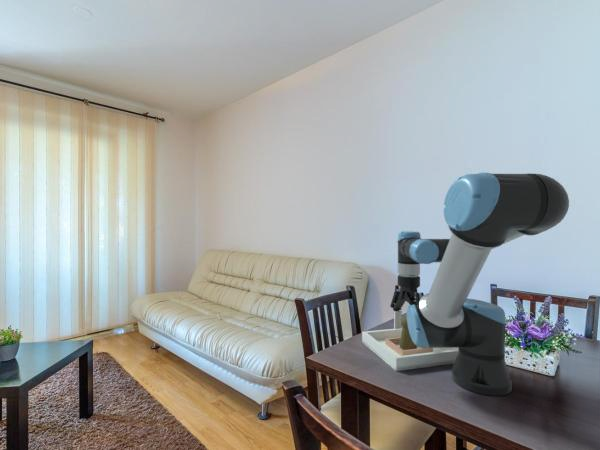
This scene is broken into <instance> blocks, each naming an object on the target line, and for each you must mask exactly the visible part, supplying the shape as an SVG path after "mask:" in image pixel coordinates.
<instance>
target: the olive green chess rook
mask: <svg viewBox="0 0 600 450" xmlns="http://www.w3.org/2000/svg"><path fill="white" fill-rule="evenodd" d="M401 326H402V332H401V339H400V346H399V347H400V348H401V349H403V350H410V349H417V346H416V345H415V344H414V343H413V341H412V339H411V336H410V333H409V329H408V324H407V316H405V317H402V319H401Z"/></svg>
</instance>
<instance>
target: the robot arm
mask: <svg viewBox="0 0 600 450" xmlns="http://www.w3.org/2000/svg"><path fill="white" fill-rule="evenodd" d="M443 205H444V208H443V217H444V220H445V223H446V224H447V225H448V226H447V227H448V230H449V231H450V233H451V236H450V237H449V238H421V233H420V232H419V231H413V230H412V231H411V230H410V231H409V230H407V231H405V230H404V231H399V232H398V235H397V242H396V243H397V284H396V285H394V292H393V296H392V300H391V302H390V308H392V310H393V329H402V326H401V319H402V318H403V317H402V314H403V313H402V308H403V306H404V304H405V303H408V304H409V305H408V307H407V309H406V317H407V324H408V329H409V333H410V336H411V339H412V341H413V343H414V344H415V345H416V346H418V347H427V348H449V347H456V348H458V349H459V350H458V354H457V357H456V360H455V363H454V364H453V365H452V366H451V378H452V380H453V381H454V383H456V384H457V385H458V386H460V387H462V388H464V389H465V390H468V391H469V392H472V393H476V394H480V395H484V396H490V397H491V396H493V397H498V396H506V395H509V394H510V393H511V392H512V389H513V388H512V387H513V386H512V385H513V383H512V382H513V381H512V378H511V376H510V373H509V370H508V369H509V368H508V366H507V363H506V357H505V355H506V325H507V321H506V311H505V310H504V309H503V307H501V306H499V305H497V304H494V303H491V302H487V301H483V300H479V299H475V298H468V297H469V295H470V293H471V291H472V289H473V287H474V285H475V283H476V281H477V279H478V277H479V275H480V273H481V271H482V269H483V268H484V266H485V264H486V262H487V259H488V257H489V255H490V253H491V251H492V250H493V249H496V248H499V247H500V246H502V245H505V244H506V243H507V244H508V243H509V242H511V241H513V240H516V239H518V238H521V237H522V236H536V235H539V234H541V233H543V232H547V231H549V230H550V229H552V228H554V227H556V226H557V225H558V224H559V223H561V222H562V221H563V220H564V218H565V217H566V215H567V213H568V210H569V208H570V198H569V194H568V192H567V191H566V189H565V187H564V186H563V185H562V184H561V183H560V182H559V181H558V180H556V179H555V178H552V177H550V176H547V175H545V174H542V173H541V174H540V173H489V172H477V173H468V174H465V175H462V176H459V177H457V179H456V180H454V181H453V183H452V184H451V185H450V186H449V188H448V189H447V192H446V195H445V197H444V203H443ZM433 263H439V264H440V265H439V267H438V269H437V272H436V274H435V277H434V279H433V282H432V284H431V288H430V290H429V292H428V293H426V294H425V293H424V292H418V288H420V286H421V277H420V275H421V265H422V264H425V265H430V264H433Z"/></svg>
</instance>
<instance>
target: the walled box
mask: <svg viewBox="0 0 600 450" xmlns="http://www.w3.org/2000/svg"><path fill="white" fill-rule="evenodd" d="M401 332H402V329H394V328H389V329H378V330H376V329H375V330H369V331H367V330H365V331H361V333H362V334H361V341H362V344H364V345H365V346H366V347H367V348H368V349H369V350H370V351H372V352H373V353H374V354H375V355H377V356H378V357H379V358H380V360H383V362H384V363H386V364H387V365H388V366H389V367H391V368H392V370H394V371H396V372H400V371H408V370H409V371H410V370H416V369H421V368H422V369H423V368H432V367H437V366H438V367H439V366H444V365H446V366H447V365H452V364H453V365H454V364H455V360H456V357H457V354H458V350H459V347H449V348H427V347H418V346H417V349H410V350H403V349H401V348H400V347H399V346H400V339H401Z"/></svg>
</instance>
